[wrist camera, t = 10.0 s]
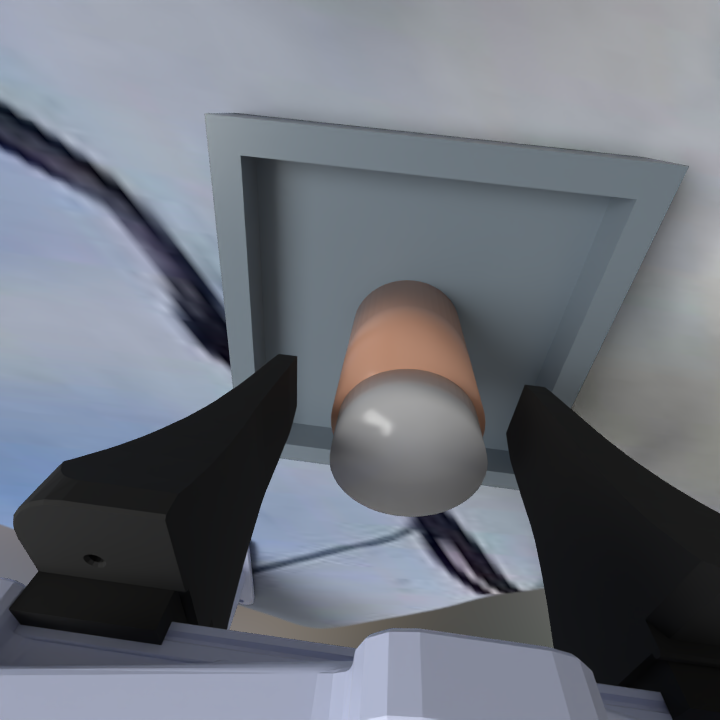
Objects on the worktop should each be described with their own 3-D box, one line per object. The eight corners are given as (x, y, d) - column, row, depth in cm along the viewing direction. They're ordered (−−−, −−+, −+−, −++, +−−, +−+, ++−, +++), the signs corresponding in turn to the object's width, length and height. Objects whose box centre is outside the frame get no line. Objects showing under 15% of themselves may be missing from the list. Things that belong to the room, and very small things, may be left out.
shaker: (349, 367, 18) (318, 509, 11) (357, 273, 15) (325, 385, 9) (447, 380, 18) (471, 530, 11) (471, 287, 15) (519, 411, 9)
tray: (255, 419, 21) (239, 453, 19) (234, 112, 14) (204, 113, 12) (517, 453, 21) (530, 491, 19) (643, 157, 13) (689, 166, 11)
